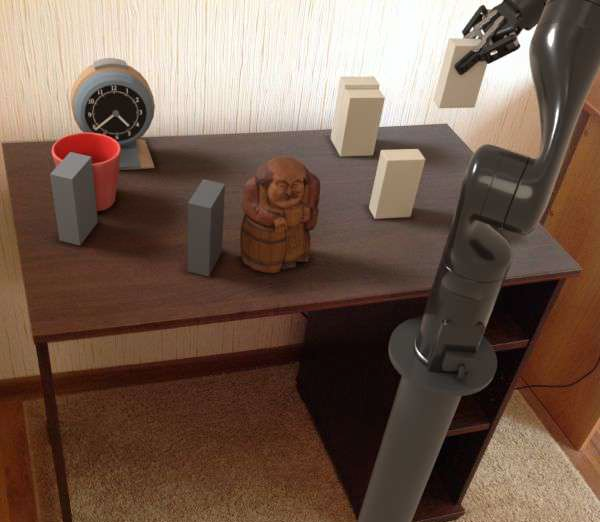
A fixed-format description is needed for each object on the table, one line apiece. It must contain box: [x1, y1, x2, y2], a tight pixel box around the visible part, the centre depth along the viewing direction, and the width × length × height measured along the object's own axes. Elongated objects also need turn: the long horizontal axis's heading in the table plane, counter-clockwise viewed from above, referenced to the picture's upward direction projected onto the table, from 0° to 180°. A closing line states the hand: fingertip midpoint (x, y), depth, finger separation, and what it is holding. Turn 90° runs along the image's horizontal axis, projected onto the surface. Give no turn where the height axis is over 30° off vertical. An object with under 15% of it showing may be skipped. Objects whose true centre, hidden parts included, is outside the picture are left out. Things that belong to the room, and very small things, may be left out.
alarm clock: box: [69, 57, 156, 171], centre depth 133 cm, size 14×10×18 cm
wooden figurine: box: [239, 155, 321, 274], centre depth 117 cm, size 12×6×18 cm, turn 119°
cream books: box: [330, 76, 426, 220], centre depth 141 cm, size 29×7×13 cm, turn 15°
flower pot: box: [51, 132, 121, 212], centre depth 126 cm, size 11×11×10 cm
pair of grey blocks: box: [49, 152, 226, 277], centre depth 117 cm, size 7×25×13 cm, turn 77°
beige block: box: [432, 37, 488, 109], centre depth 132 cm, size 7×3×11 cm, turn 105°
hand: (453, 65), depth 131 cm, fingers closed on beige block, 3 cm apart
